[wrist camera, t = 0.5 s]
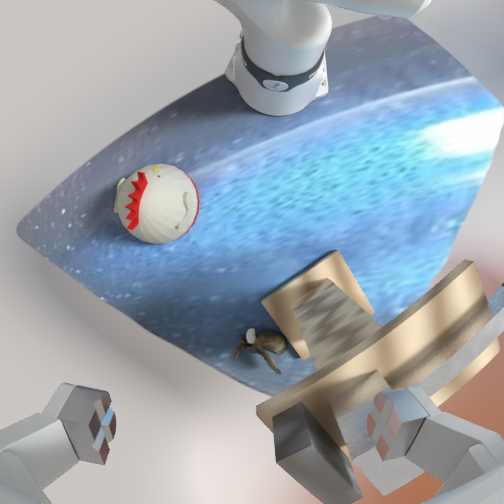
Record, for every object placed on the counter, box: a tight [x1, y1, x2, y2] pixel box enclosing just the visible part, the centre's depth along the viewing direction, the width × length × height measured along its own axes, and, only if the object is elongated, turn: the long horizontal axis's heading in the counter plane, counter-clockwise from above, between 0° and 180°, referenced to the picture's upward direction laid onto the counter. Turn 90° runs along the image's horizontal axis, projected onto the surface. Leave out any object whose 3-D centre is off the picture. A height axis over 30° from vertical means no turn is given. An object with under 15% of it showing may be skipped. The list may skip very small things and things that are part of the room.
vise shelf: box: [256, 250, 500, 504], centre depth 37 cm, size 24×14×37 cm, turn 124°
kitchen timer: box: [114, 164, 199, 244], centre depth 46 cm, size 14×14×15 cm
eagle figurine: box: [233, 328, 288, 375], centre depth 54 cm, size 8×7×9 cm
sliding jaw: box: [329, 283, 504, 496], centre depth 20 cm, size 26×7×8 cm, turn 124°
